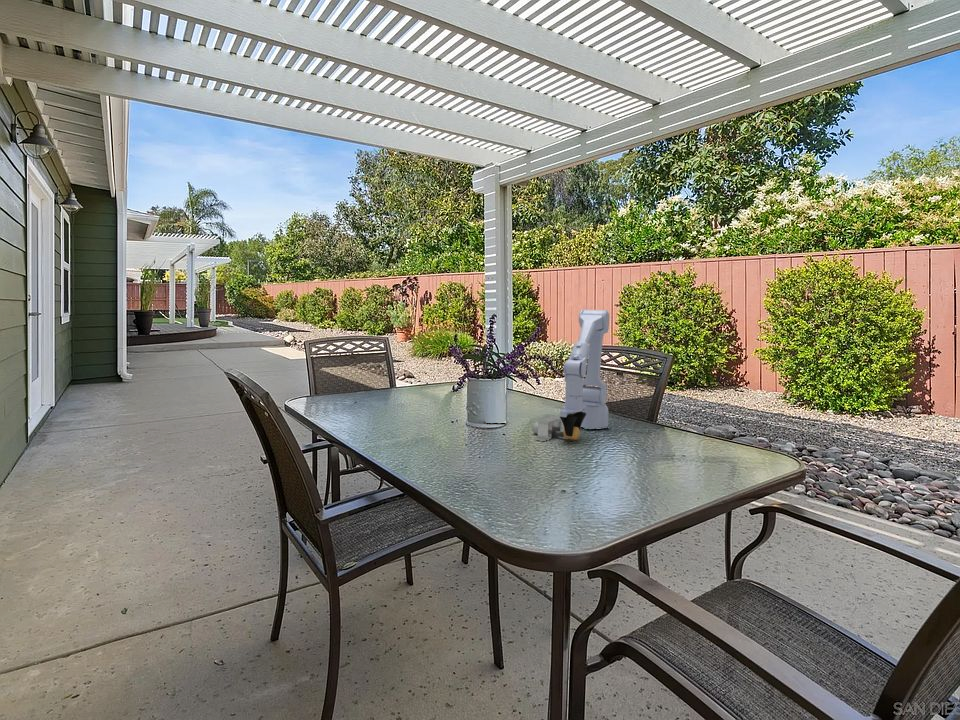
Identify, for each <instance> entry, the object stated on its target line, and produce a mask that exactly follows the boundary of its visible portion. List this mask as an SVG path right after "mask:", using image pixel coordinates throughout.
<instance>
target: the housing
mask: <svg viewBox="0 0 960 720" xmlns="http://www.w3.org/2000/svg"><path fill="white" fill-rule="evenodd" d="M537 423H538V434H537V436H536V437H533V441H536V440H540V441H539V442H541V441H546V440H548V441H550V440H549V439H551V438H552V436H553V435H552V431H560V432H563V431H564V425H563V422H562V420H561V418H560V415H556V414H553V415H550V416H548V417H545V418H541V419H538V420H537ZM552 439H553V438H552ZM552 439H551V440H552ZM546 442H547V441H546Z"/></svg>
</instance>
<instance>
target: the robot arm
mask: <svg viewBox="0 0 960 720" xmlns="http://www.w3.org/2000/svg"><path fill="white" fill-rule="evenodd" d="M578 322H579V327H580V332H579V337H578V340H577V341H575V343H574V344H573V346H572V349H571V352H570V355H569V358H568V359H567V360H565V362H564V364H563V375H564V382H565V394H564V395H565V398H564V399H565V400H564V405H563V406H561V410H560V411H559V416H560V418H561V420H562V422H563V425H564V429H565V434H566V436H572V435H573V429H574V427H578V428H579V430H580V431H581V429H582V428H581V427H585V428H599V427H605V426H608V427H609V415H610V413H609V408H608V406H607V404H606V403H607V399H608V398H607V397H608V391H607V384H606V383H605V381H603V380H602V379H601V378H600V376H601V366H602V365H601V364H602V363H601V362H602V351H603V340H604V335H605V334H607V333H609V329H610V313H609V311H608V310H607V309H602V310H601V309H584V308H583V309H581V310H580V312H579V315H578ZM585 376H586V377H585ZM584 377H585V378H584Z"/></svg>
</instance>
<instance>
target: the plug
mask: <svg viewBox="0 0 960 720" xmlns="http://www.w3.org/2000/svg"><path fill="white" fill-rule="evenodd" d="M531 430H532V431H531V432H532V433H533V434H534V433H535V435H538V421H537V422H534V423H533V424H532V428H531ZM580 431H581V429H580V430H579V428H578V427H574V429H573V435H572V436H566V434H565V429H564V431H563V432H560V431H552V436H556V437H563V438H565V439H569V440H578V439H579V438H580V434H581V432H580Z"/></svg>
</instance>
